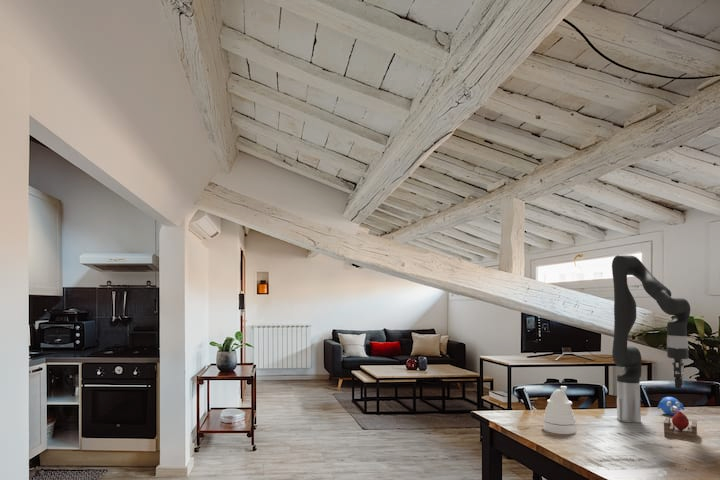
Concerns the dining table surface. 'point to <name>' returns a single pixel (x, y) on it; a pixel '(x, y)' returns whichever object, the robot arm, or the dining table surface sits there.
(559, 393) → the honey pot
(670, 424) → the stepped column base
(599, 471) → the dining table surface
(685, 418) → the pomegranate
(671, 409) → the blue mole toy
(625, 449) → the dining table surface
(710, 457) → the dining table surface
